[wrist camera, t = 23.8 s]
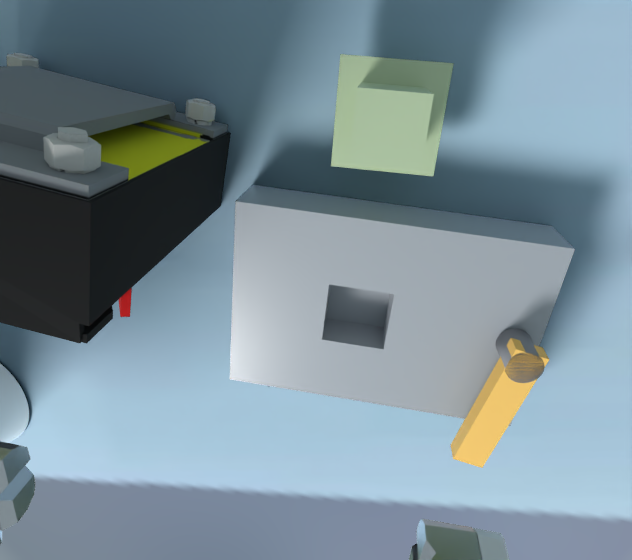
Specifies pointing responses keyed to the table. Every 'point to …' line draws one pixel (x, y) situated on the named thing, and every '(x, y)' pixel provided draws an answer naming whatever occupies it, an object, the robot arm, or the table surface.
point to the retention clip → (499, 396)
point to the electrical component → (94, 193)
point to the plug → (389, 114)
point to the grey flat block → (383, 297)
